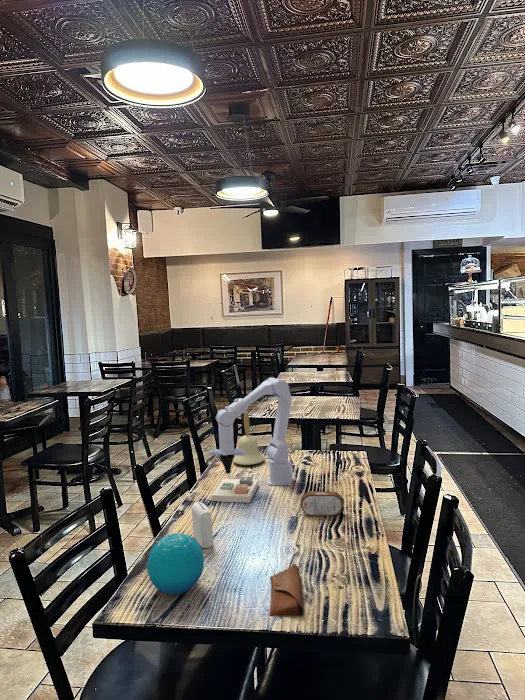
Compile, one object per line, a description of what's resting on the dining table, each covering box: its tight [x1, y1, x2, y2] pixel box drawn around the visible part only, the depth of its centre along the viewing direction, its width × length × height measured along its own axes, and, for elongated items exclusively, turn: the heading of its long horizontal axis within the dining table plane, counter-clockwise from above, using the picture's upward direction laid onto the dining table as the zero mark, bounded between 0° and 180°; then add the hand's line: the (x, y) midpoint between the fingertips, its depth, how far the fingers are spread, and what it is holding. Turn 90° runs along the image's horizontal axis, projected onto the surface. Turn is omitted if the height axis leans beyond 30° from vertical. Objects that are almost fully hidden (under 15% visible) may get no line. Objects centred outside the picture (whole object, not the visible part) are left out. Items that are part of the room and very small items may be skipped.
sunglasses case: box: [269, 563, 304, 617], centre depth 124 cm, size 18×7×7 cm
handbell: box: [232, 410, 265, 466], centre depth 227 cm, size 15×15×25 cm
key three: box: [220, 483, 234, 490], centre depth 192 cm, size 4×4×3 cm
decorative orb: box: [146, 532, 205, 595], centre depth 127 cm, size 15×15×15 cm
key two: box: [235, 484, 249, 494], centre depth 187 cm, size 4×4×3 cm
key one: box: [239, 476, 253, 486], centre depth 195 cm, size 4×4×3 cm
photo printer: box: [191, 501, 214, 549], centre depth 153 cm, size 10×4×12 cm, turn 26°
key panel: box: [211, 478, 259, 503], centre depth 192 cm, size 15×17×2 cm
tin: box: [300, 490, 344, 517], centre depth 168 cm, size 15×3×8 cm, turn 84°
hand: (228, 472), depth 192 cm, fingers closed
